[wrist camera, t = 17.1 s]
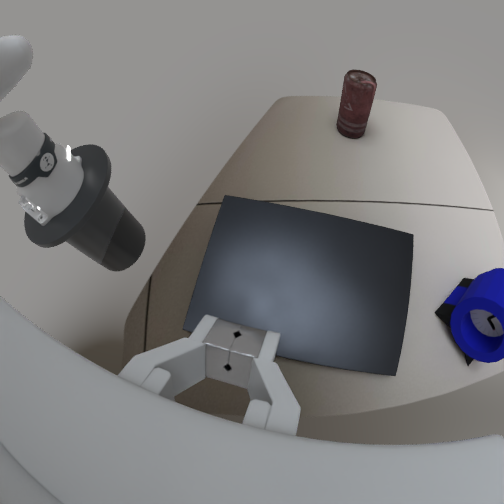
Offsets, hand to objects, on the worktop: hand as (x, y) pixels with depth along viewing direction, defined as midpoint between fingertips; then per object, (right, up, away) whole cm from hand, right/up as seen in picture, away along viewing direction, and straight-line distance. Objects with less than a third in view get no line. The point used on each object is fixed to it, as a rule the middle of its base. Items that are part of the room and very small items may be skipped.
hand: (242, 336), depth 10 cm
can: (+21, +29, +40) cm, 54 cm away
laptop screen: (+8, -1, +26) cm, 27 cm away
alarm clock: (+37, -8, +23) cm, 45 cm away
